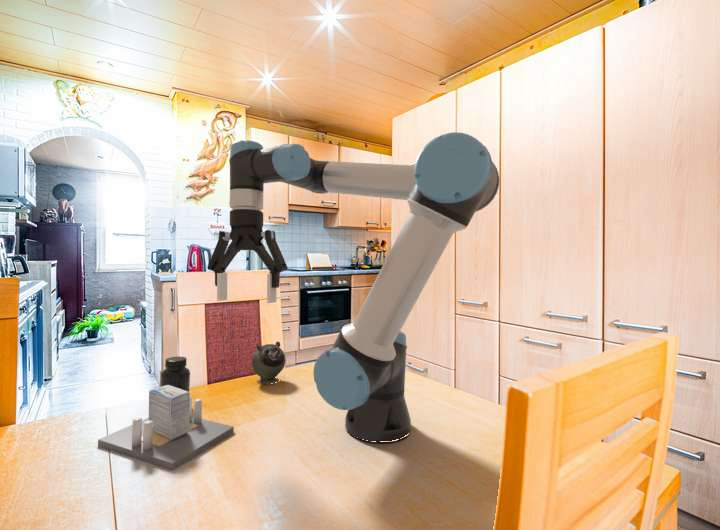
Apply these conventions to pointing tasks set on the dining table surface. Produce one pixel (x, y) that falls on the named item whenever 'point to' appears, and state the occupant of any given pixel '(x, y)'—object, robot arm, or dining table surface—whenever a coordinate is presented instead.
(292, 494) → the dining table surface
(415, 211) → the robot arm
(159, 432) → the medicine box
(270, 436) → the dining table surface
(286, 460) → the dining table surface
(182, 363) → the supplement bottle
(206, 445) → the pin tray
